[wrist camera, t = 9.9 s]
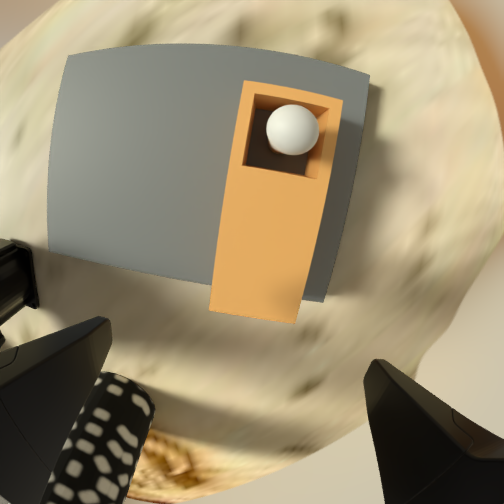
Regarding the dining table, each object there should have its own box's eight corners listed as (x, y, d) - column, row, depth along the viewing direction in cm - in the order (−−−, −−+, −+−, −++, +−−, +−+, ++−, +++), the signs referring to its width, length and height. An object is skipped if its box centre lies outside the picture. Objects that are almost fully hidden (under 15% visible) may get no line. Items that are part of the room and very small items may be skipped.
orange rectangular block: (288, 292, 19) (294, 323, 15) (218, 281, 19) (208, 310, 15) (324, 112, 15) (343, 100, 12) (247, 98, 15) (244, 80, 11)
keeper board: (319, 293, 21) (351, 373, 12) (58, 246, 20) (-13, 287, 12) (362, 80, 16) (427, 36, 7) (78, 60, 15) (4, 32, 7)
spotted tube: (87, 359, 24) (-5, 506, 5) (160, 391, 25) (99, 567, 6) (90, 403, 27) (26, 526, 8) (151, 430, 27) (108, 568, 8)
